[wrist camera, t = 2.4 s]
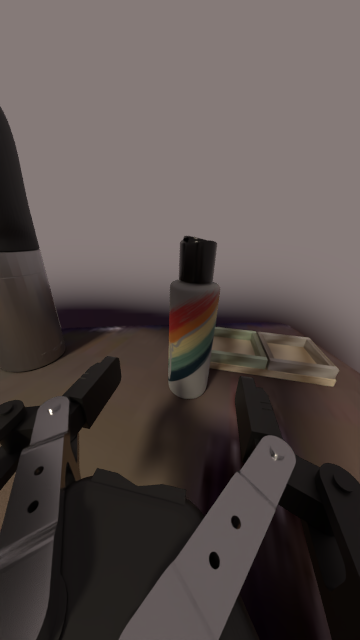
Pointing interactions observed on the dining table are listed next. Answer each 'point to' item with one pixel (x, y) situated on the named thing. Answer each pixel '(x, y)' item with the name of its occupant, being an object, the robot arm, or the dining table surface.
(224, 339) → the cream flat tray
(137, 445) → the dining table surface
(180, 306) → the lotion bottle
